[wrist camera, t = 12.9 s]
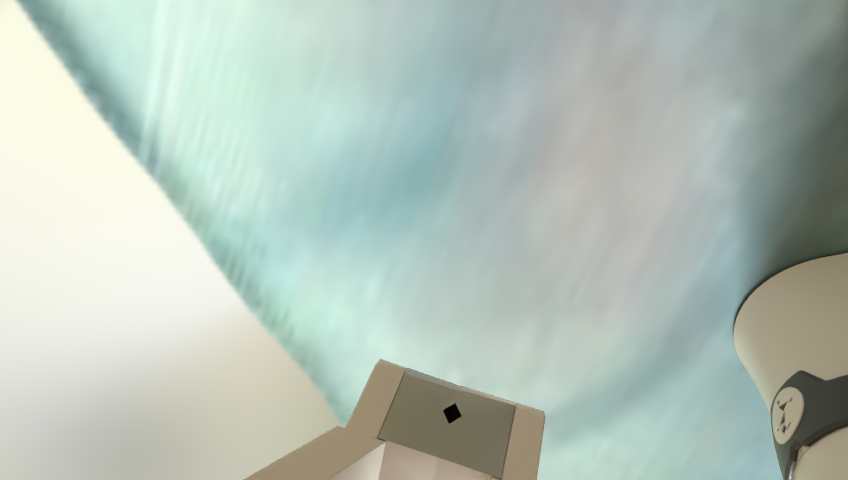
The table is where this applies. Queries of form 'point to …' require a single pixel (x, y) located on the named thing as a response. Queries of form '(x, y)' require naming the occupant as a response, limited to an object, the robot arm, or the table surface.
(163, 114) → the table surface
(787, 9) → the table surface
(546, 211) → the table surface
